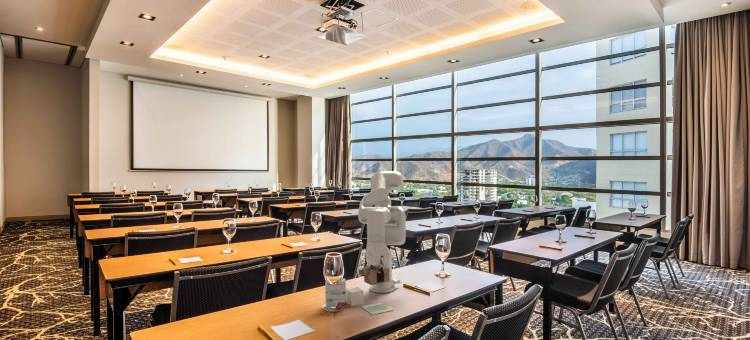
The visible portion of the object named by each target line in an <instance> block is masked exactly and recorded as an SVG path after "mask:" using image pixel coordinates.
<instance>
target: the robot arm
mask: <svg viewBox="0 0 750 340" xmlns="http://www.w3.org/2000/svg"><path fill="white" fill-rule="evenodd" d="M369 184H370V192H368V193H367V194H366V195H364V196H363V197H362V199H361V200H360V203H359V207H358V213H357V214H358V215H357V216H358V218H357V219H358V221H359V222H360V223H361V224H366V236H367V237H366V238H367V239H366V240H367V241H366V250H365V261H366V263H367V264H368V267H372V266H375V267H376V266H377V270H378V273H377V282H378V283H379V282H384V272H385V268H386V267H389V282H385V283H380V284H375V285H370V286H369V291H371V292H373V293H376V294H377V293H378V294H386V293H387V294H388V293H392V292H394V291H395V290H396V286H395V285H397V284H401V279H396V278H393V277H392V276H393V275H392V274H393V273H392V272H393V271H392V269H393V263H392V259H393V257H392V252H391V250H390V248H388V246H401V245H404V244H405V242H406V236H407V235H406V234H407V233H406V232H407V230H406V229H407V226H406V225H407V222H406V220H407V219H406V211H405V209H404V207H401V206H392V199H391V197H390V196H389V193H390V191H399V190H403V186H404V178H403V175H402V173H401V172H399V171H396V170H395V171H394V170H393V171H391V170H389V171H386V170H384V171H377V172H375V173H374V174H373V175H371V177H370V180H369ZM379 267H381V268H379Z"/></svg>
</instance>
